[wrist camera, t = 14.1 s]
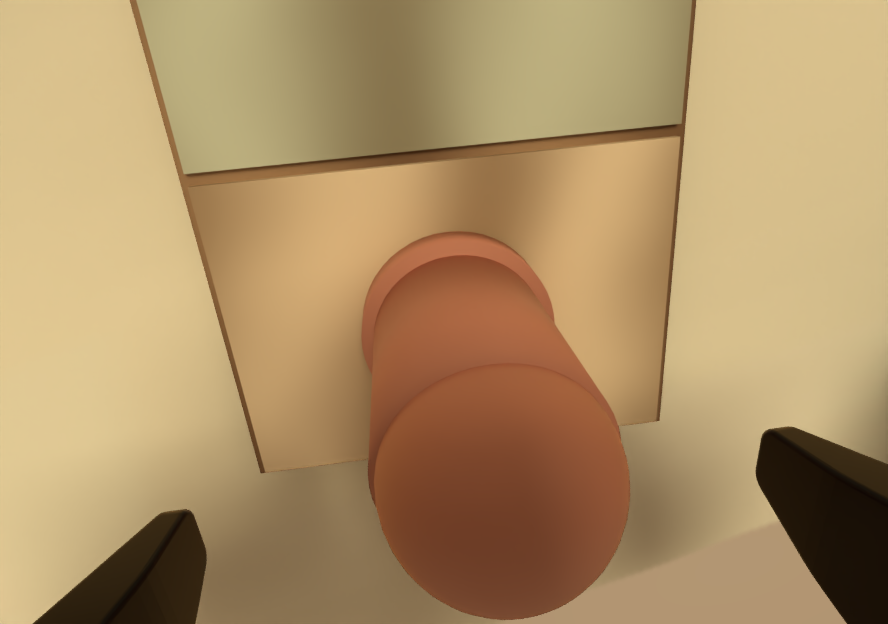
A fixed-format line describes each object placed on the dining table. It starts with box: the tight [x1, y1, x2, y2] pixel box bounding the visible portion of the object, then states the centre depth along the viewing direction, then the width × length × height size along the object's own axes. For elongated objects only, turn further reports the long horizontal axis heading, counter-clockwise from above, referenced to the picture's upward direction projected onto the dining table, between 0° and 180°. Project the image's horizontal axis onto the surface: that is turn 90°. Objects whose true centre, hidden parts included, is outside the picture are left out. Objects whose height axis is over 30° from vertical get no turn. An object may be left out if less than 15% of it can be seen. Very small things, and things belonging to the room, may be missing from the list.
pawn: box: [361, 231, 630, 620], centre depth 11 cm, size 5×5×8 cm
